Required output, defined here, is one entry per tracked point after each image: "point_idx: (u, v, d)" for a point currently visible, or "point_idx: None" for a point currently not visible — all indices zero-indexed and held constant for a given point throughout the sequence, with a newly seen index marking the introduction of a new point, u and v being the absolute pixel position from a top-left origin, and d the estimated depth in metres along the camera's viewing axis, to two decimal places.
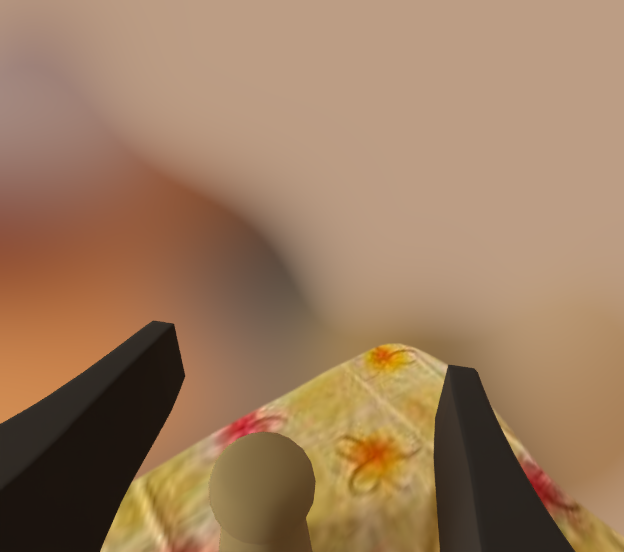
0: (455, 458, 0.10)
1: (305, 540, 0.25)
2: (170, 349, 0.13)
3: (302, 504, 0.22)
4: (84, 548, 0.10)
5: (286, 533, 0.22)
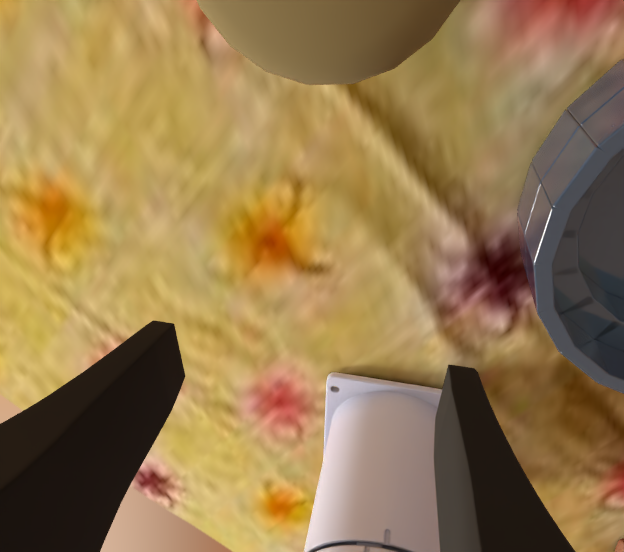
0: (455, 458, 0.10)
1: None
2: (170, 349, 0.13)
3: (453, 0, 0.08)
4: (84, 548, 0.10)
5: None
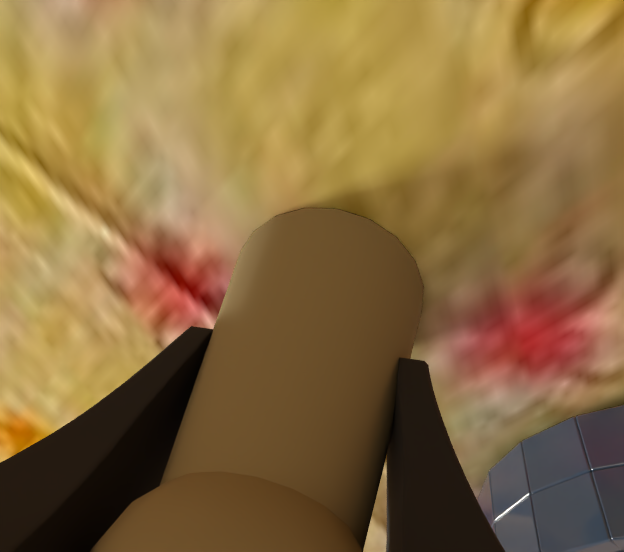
0: (397, 448, 0.10)
1: (382, 467, 0.11)
2: None
3: None
4: None
5: None
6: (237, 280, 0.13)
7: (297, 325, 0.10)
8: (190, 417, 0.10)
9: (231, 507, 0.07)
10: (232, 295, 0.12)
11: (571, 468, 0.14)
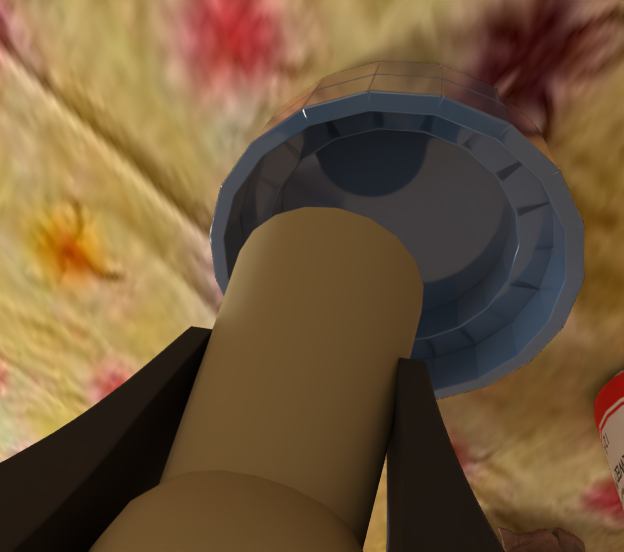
0: (397, 447, 0.10)
1: (382, 466, 0.11)
2: None
3: None
4: None
5: None
6: (237, 279, 0.13)
7: (296, 323, 0.10)
8: (189, 416, 0.10)
9: (230, 506, 0.07)
10: (232, 294, 0.12)
11: None
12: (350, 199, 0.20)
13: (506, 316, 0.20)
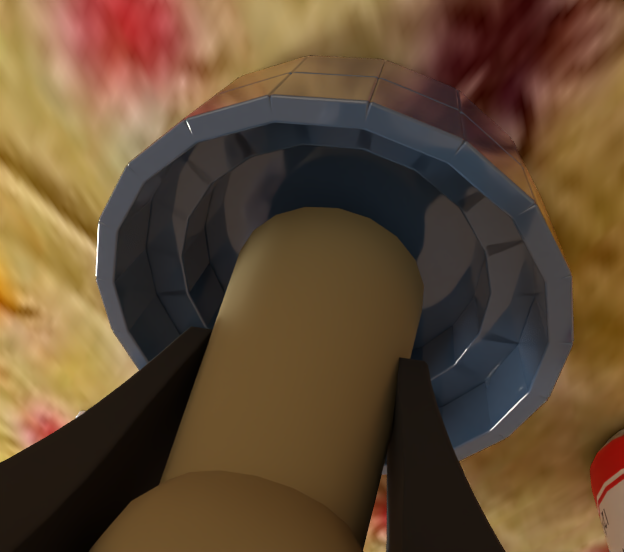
0: (397, 448, 0.10)
1: (382, 466, 0.11)
2: None
3: None
4: None
5: None
6: (237, 279, 0.13)
7: (297, 324, 0.10)
8: (190, 416, 0.10)
9: (230, 506, 0.07)
10: (232, 294, 0.12)
11: None
12: None
13: (478, 375, 0.16)
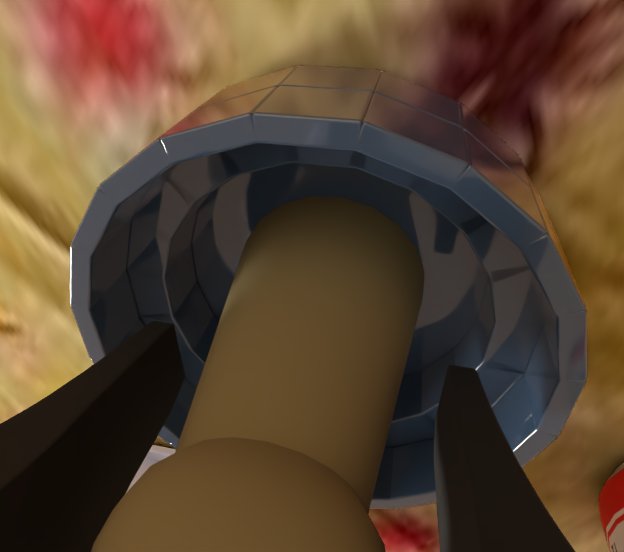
0: (455, 458, 0.10)
1: (385, 440, 0.11)
2: (170, 349, 0.13)
3: None
4: (84, 548, 0.10)
5: None
6: (245, 265, 0.13)
7: (304, 304, 0.11)
8: (203, 391, 0.10)
9: (245, 466, 0.08)
10: (240, 279, 0.13)
11: None
12: None
13: None
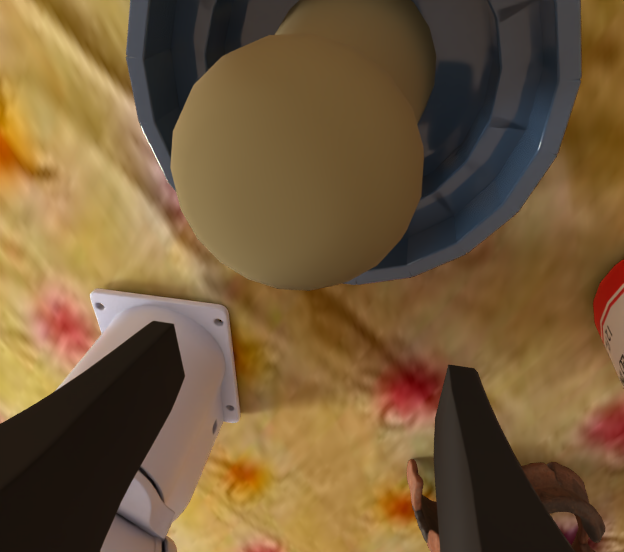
0: (455, 458, 0.10)
1: None
2: (170, 349, 0.13)
3: (396, 243, 0.10)
4: (84, 548, 0.10)
5: None
6: None
7: (339, 11, 0.13)
8: None
9: None
10: (278, 29, 0.15)
11: None
12: None
13: (488, 172, 0.17)
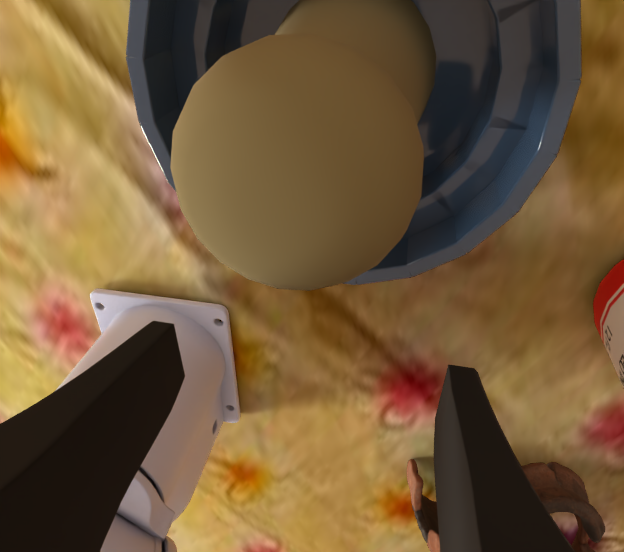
0: (455, 458, 0.10)
1: None
2: (170, 349, 0.13)
3: (396, 243, 0.10)
4: (84, 548, 0.10)
5: None
6: None
7: (339, 11, 0.13)
8: None
9: None
10: (278, 29, 0.15)
11: None
12: None
13: (488, 172, 0.17)
